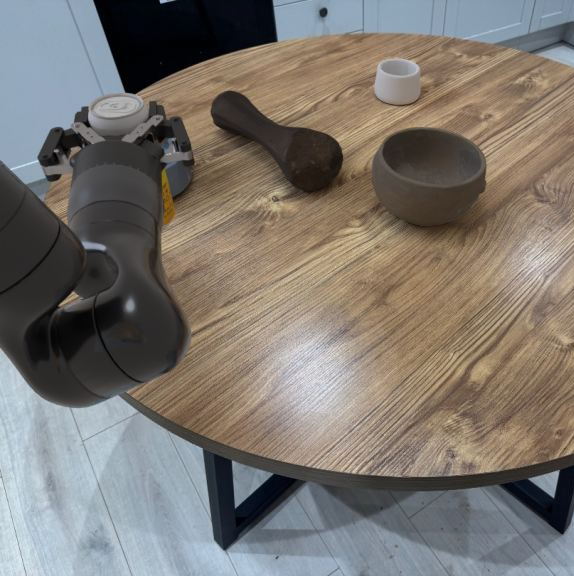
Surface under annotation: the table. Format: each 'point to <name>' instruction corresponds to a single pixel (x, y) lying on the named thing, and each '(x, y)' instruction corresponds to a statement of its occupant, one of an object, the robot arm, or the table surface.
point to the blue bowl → (176, 173)
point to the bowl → (428, 175)
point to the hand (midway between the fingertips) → (121, 111)
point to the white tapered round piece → (397, 81)
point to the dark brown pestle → (282, 142)
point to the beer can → (126, 129)
